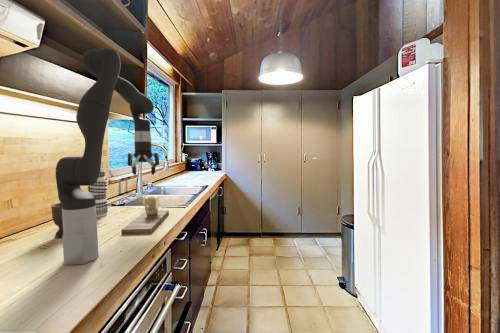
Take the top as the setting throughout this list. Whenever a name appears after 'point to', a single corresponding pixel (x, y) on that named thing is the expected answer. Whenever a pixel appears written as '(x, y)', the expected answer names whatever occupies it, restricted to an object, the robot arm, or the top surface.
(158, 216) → the hinge base
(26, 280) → the top surface
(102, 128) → the robot arm
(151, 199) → the tan block
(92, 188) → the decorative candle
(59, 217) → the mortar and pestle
